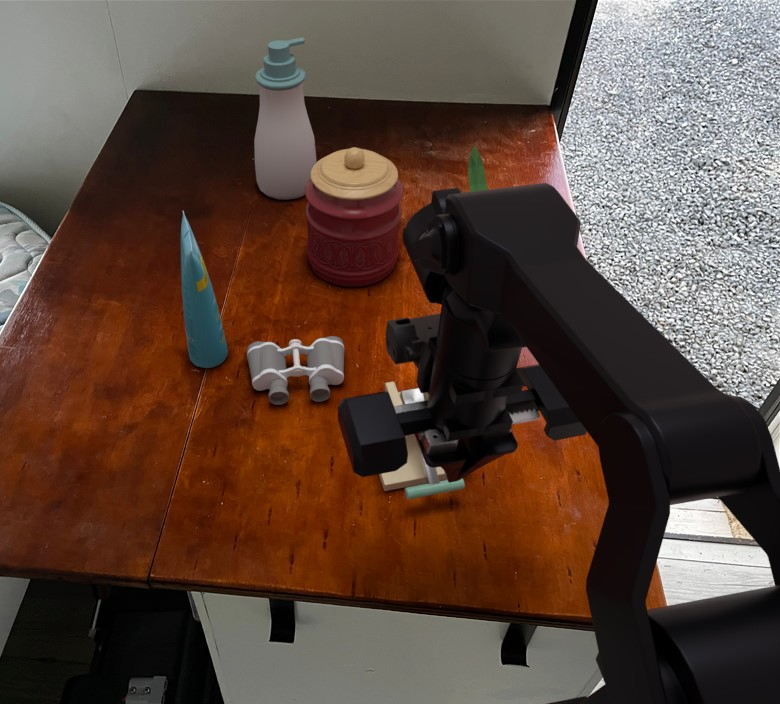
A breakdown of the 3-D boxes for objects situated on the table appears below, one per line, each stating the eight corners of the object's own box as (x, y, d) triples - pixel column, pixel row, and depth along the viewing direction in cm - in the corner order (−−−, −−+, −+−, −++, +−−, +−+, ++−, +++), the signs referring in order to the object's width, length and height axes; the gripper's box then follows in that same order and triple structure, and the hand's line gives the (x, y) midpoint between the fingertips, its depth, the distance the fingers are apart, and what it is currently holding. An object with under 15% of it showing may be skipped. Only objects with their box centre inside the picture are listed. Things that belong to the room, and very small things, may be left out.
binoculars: (343, 351, 89) (343, 331, 87) (350, 400, 84) (351, 380, 81) (248, 358, 89) (245, 338, 86) (249, 407, 83) (246, 388, 81)
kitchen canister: (292, 275, 100) (285, 164, 87) (328, 224, 108) (327, 116, 95) (379, 299, 96) (385, 186, 83) (410, 244, 104) (420, 134, 91)
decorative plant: (471, 311, 90) (448, 148, 106) (471, 345, 97) (450, 188, 113) (521, 306, 89) (490, 142, 105) (517, 341, 96) (489, 183, 112)
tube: (234, 369, 87) (215, 244, 74) (196, 380, 86) (169, 255, 73) (220, 330, 92) (199, 206, 79) (183, 339, 91) (156, 215, 78)
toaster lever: (461, 490, 73) (467, 486, 71) (405, 501, 72) (409, 497, 70) (433, 391, 77) (438, 384, 75) (380, 401, 76) (383, 393, 74)
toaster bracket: (465, 475, 76) (475, 431, 70) (384, 491, 75) (388, 447, 69) (430, 392, 84) (436, 346, 78) (356, 406, 83) (357, 360, 77)
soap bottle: (327, 191, 114) (325, 49, 98) (271, 208, 111) (260, 65, 95) (301, 163, 120) (295, 25, 104) (247, 178, 117) (233, 39, 101)
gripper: (552, 259, 56) (516, 389, 67) (321, 295, 53) (323, 423, 65) (624, 359, 48) (569, 487, 59) (357, 406, 46) (353, 530, 57)
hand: (451, 477), depth 60 cm, fingers closed
